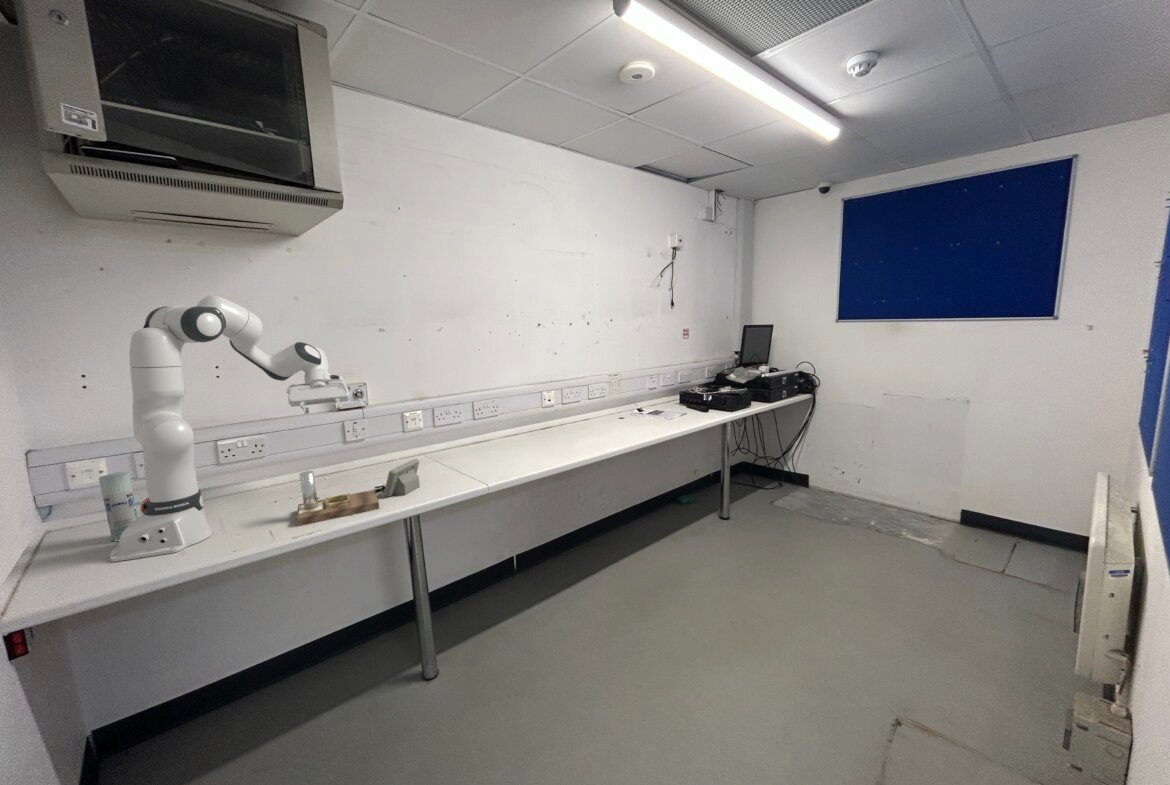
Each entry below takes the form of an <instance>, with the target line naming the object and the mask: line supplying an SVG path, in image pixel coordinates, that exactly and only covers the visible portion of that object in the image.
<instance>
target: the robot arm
mask: <svg viewBox="0 0 1170 785" xmlns="http://www.w3.org/2000/svg"><path fill="white" fill-rule="evenodd" d="M263 332H264V325H263V321H262V320H261V319H260V317H259V316H258V315H256V314H255V313H254V312H253V311H251V310H248V309H247V308H246V307H243V306H242V305H240V304H238V303H236V302H233V301H231V300H229V299H227V298H225V297H221V296H219V295H207V296H205V297H203V298H202V299H200V301H198V303H197V304H196V306H192V305H189V306H188V305H172V306H169V305H168V306H166V305H165V306H161V307H157V308H156V309H153V310H152V311H150V312H149V313H148V315H147V316H146V318H145V321H144V325H143V327H142V328H140V329H137V330H136V331H134V332H133V333H132V335H131V338H130V344H129V354H128V356H129V358H128V360H129V371H130V373H129V374H130V380H131V390H132V428H133V436H134V438H135V440H136V441H137V442H138V443H139V444H140V445H141V447H142V453H143V454H142V455H143V464H144V479H145V483H146V484H145V485H146V489H147V494H148V497H146V498H145V499H144V500H143V501H142V503H141V504H140V512H141V513H142V514H141V515H140V516H139V517H138V519H136V520H135V521H134V522H133V523H132V524H130V525H129V526H128V527H127V528H126V529H125V530H124V531H123V532H122V534H121V537H120V541H118V543H119V544H118V546H116V547H115V548H114V549H113V550H111V552H110V554H109V561H111V562H112V563H114V562H121V561H129V560H135V559H140V558H141V557H142V558H146V557H153V556H154V557H155V556H160V555H166V554H168V555H169V554H171V553H172V554H173V553H177V552H180V551H182V550H183V549H186V548H188V547H190V546H192V545H194V544H197V543H199V542H201V541H204V540H206V539H207V538H209V537H211V535H212V534H213V532H214V530H213V529H212V528H211V526H210V523H209V521H208V520H207V517H206V514H205V512H204V499H203V498H204V497H203V494H202V491H201V489H199V484H198V479H197V478H198V477H197V473H196V466H195V441H194V440H195V439H194V438H195V437H194V429H193V428H192V425H191V424H190V423H189V422H188V421H186V420H185V419H184V400H185V394H186V391H185V390H186V389H185V380H184V379H185V378H184V370H183V369H184V368H183V359H182V349H183V346H185V344H193V343H195V344H196V343H208V342H212V341H215V340H216V339H219V338H220V336H221V335H222V336H224V337H226V338H228V339H229V344H230V346H231V348H232V349H233V350H234V351H235V352H236V353H237V354H239V355H240V356H242V357H243V358H244V359H246V360H247V361H249V362H250V363H252V364H254V365H255V366H256V367H258V368H259V369H261V371H263V372H264V373H265V374H266V375H267V376H268V377H269V378H271V379H273V380H275V381H283V382H284V381H287V380H288V379H290V377H292V376H293V375H295V374H297V373H299V372H301V371H303V372H304V376H303V378H304V383H299V384H291V385H289V386H288V387H286V393H287V395H288V405H289V406H290V407H300V408H301V409H302V410H303V412H304V414H305V415H308V414H310V410H309V407H306V406H312V405H322V404H323V405H324V404H330V403H331V404H332V403H335V404H332V410H333V412H334V411H335V412H337V411H338V407H339V406H340V404H341V402H342V403H343V402H348V401H349V400H350V392H349V391H350V390H349V388H348V385H347V384H346V382H344V377H343V376H342V375H339V374H332V373H329V370H330V367H329V366H330V365H329V359H328V357H327V354H326V352H325V351H324V350H323V349H322V348H320V347H317V346H312V345H311V344H308V343H305V342H302V341H297V342H295V343H293V344H291V345H290V346H288V347H286V348H284V349H282V350H281V351H278V352H277V353H274V354H268V353H266V352H265V351H263V350H261V349H260V348H259V347H258V346H256V345H257V343H258V342H259V341H260V339H261V338H262V336H263Z"/></svg>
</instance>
